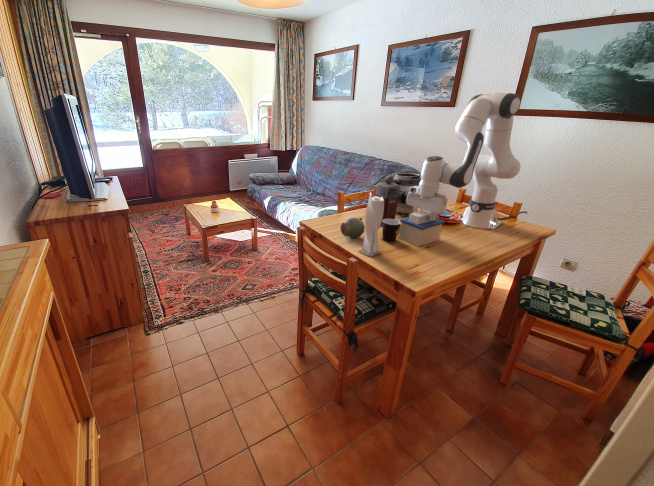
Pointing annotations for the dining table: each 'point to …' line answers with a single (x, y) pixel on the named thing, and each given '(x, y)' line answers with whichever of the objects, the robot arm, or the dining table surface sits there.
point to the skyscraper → (372, 225)
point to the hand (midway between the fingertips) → (422, 217)
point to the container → (420, 231)
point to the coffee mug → (390, 230)
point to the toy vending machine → (388, 197)
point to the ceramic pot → (405, 191)
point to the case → (421, 217)
